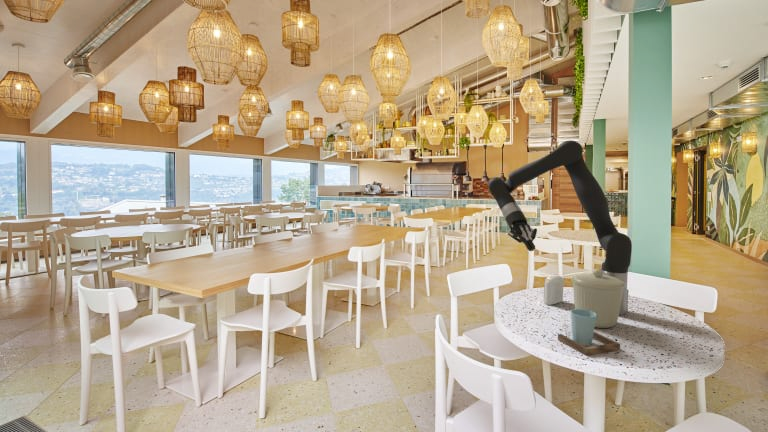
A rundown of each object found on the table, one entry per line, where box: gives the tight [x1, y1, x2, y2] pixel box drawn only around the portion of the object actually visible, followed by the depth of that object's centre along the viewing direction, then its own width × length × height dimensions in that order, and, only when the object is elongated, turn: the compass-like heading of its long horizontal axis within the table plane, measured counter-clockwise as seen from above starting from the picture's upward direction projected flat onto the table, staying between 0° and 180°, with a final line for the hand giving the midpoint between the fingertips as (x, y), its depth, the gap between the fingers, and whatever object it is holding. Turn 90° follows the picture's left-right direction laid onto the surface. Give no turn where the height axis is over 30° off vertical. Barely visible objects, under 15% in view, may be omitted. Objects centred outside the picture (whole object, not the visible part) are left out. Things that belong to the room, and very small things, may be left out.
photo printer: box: [543, 274, 564, 306], centre depth 165 cm, size 10×4×12 cm, turn 123°
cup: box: [570, 308, 597, 347], centre depth 124 cm, size 8×8×10 cm
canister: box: [570, 268, 626, 329], centre depth 140 cm, size 18×18×21 cm
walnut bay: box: [557, 331, 621, 356], centre depth 122 cm, size 13×12×2 cm
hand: (532, 249), depth 143 cm, fingers closed
